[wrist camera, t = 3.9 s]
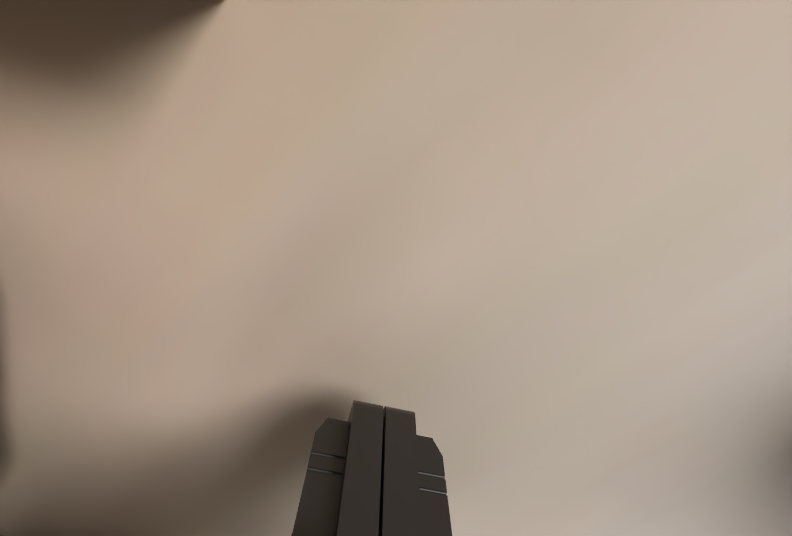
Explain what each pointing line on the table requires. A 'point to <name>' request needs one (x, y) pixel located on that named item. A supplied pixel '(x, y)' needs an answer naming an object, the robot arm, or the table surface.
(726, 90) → the table surface
